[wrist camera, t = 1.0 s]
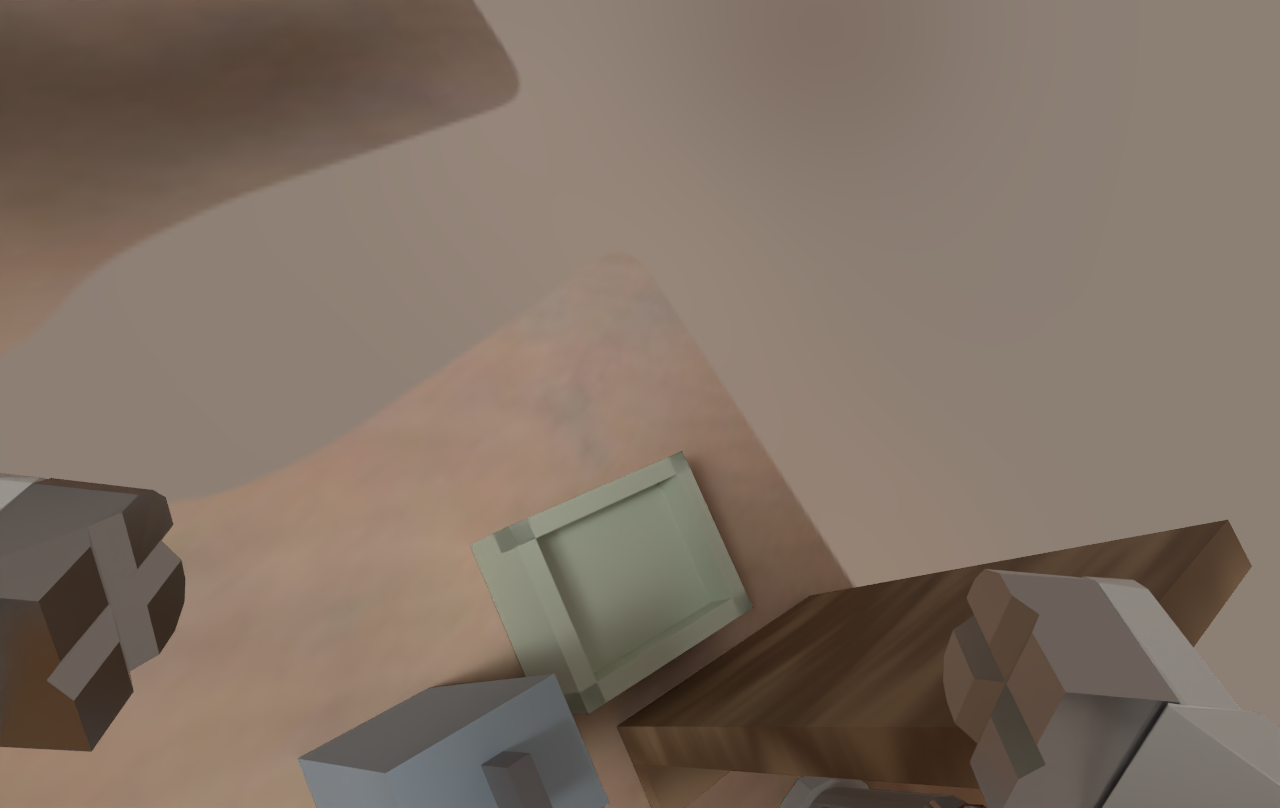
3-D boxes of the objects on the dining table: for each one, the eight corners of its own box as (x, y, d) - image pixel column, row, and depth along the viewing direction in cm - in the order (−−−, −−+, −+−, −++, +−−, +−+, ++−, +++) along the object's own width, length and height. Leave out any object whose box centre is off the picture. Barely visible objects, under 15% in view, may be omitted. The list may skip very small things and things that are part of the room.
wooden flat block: (616, 726, 41) (1053, 727, 22) (809, 595, 51) (1228, 519, 32) (656, 819, 41) (1136, 900, 22) (843, 670, 51) (1287, 637, 32)
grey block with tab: (297, 758, 33) (406, 776, 22) (428, 688, 37) (582, 670, 25) (338, 862, 33) (471, 939, 21) (466, 781, 37) (641, 807, 25)
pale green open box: (470, 544, 40) (508, 526, 37) (635, 473, 47) (682, 450, 43) (541, 715, 40) (588, 714, 36) (699, 617, 46) (753, 607, 42)
